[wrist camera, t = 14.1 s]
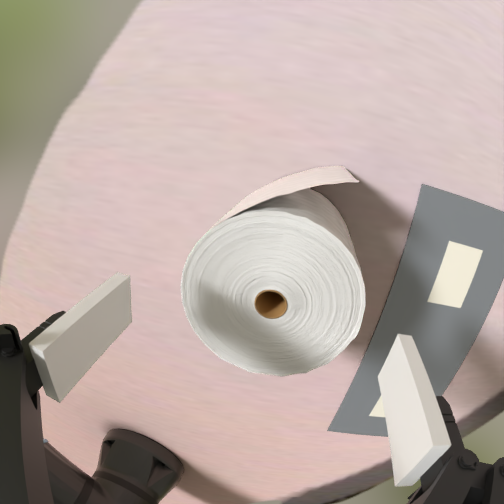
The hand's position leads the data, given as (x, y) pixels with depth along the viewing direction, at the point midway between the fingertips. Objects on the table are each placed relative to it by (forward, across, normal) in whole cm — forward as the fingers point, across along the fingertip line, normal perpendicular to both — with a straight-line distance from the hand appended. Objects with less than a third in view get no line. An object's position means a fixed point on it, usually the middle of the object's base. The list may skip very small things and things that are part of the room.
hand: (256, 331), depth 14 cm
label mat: (+13, -16, +8) cm, 22 cm away
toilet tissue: (+13, 0, 0) cm, 13 cm away
